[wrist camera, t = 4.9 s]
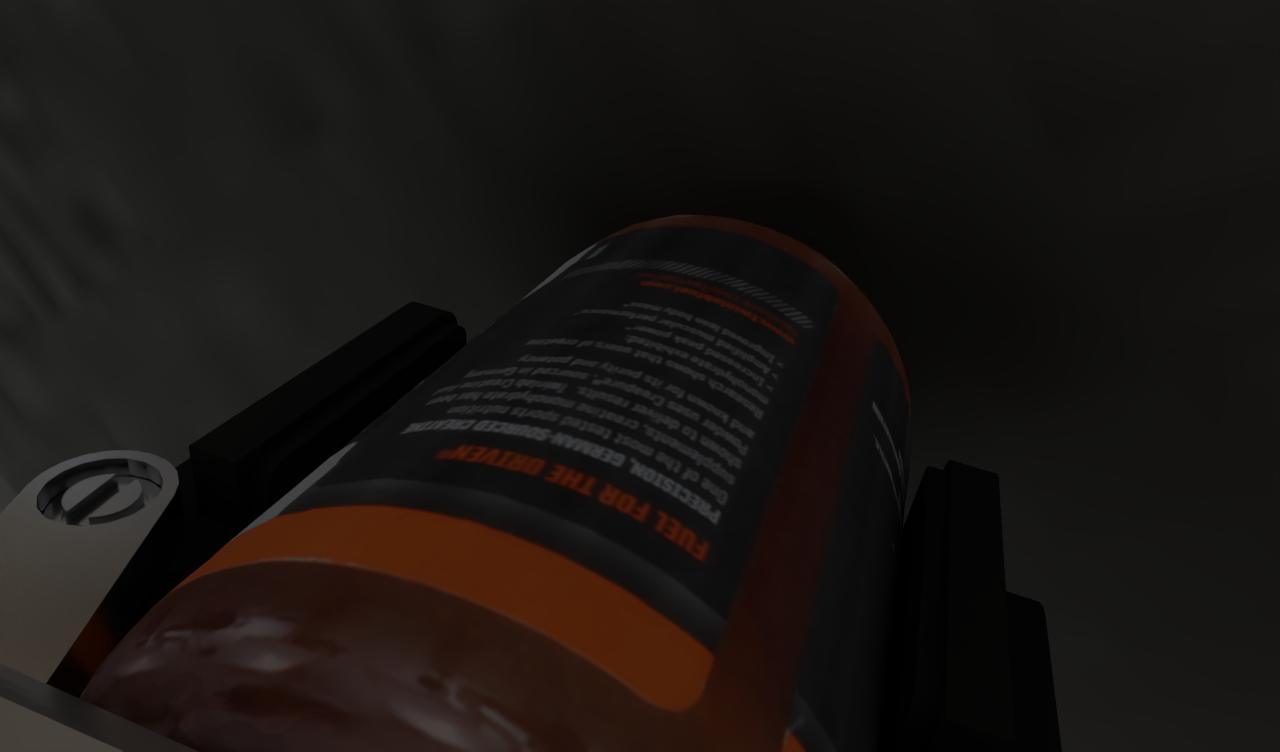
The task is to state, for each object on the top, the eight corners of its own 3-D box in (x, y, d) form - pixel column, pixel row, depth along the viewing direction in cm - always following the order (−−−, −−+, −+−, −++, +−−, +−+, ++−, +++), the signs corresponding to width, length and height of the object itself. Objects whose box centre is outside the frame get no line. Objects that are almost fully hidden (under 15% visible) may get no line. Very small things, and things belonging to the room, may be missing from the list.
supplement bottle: (486, 251, 13) (-692, 1002, 4) (865, 152, 11) (174, 1576, 1) (608, 561, 15) (24, 1563, 6) (952, 537, 13) (912, 2217, 3)
